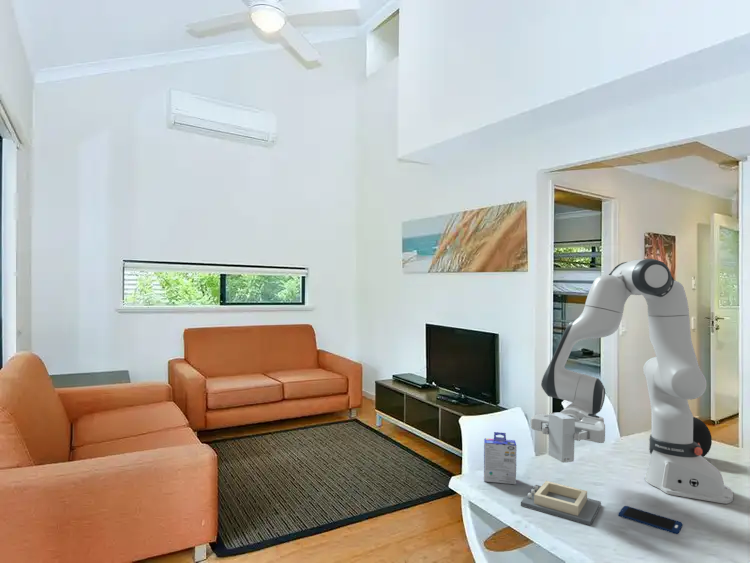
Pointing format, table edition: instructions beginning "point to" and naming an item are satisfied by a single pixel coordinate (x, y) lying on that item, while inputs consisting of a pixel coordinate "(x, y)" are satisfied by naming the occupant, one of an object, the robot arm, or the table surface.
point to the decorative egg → (701, 435)
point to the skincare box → (561, 437)
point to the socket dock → (562, 502)
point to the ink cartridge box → (500, 460)
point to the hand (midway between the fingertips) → (560, 434)
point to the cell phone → (651, 519)
